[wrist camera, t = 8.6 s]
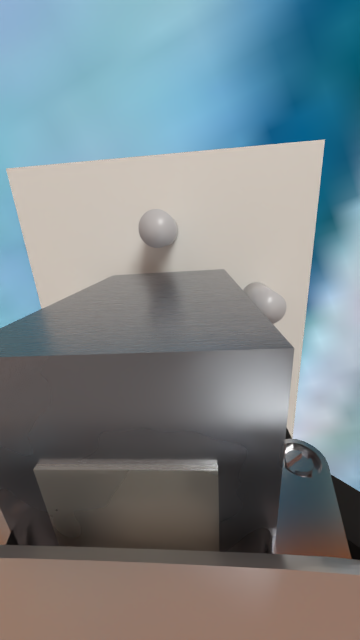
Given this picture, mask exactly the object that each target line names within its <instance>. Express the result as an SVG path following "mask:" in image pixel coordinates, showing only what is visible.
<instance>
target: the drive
mask: <svg viewBox="0 0 360 640" xmlns="http://www.w3.org/2000/svg"><path fill="white" fill-rule="evenodd" d="M293 357H294V347H293V346H292V345H291V344H290V343H289V342H288V341H287V339H286V338H285V337H284V336H283V335H282V334H281V333H280V332H279V330H278V329H277V328H276V327H275V326H274V325H273V324H272V323H271V321H270V320H269V319H268V318H267V317H266V316H265V315H264V314H263V312H262V311H261V310H260V309H259V308H258V307H257V306H256V305H255V303H254V302H253V301H252V300H251V299H250V298H249V297H248V296H247V294H246V293H245V292H244V291H243V290H242V289H241V288H240V287H239V285H238V284H237V283H236V282H235V281H234V280H233V279H232V278H231V276H230V275H229V274H228V273H227V272H226V271H225V270H224V269H217V270H199V271H181V272H163V273H145V274H127V275H113V276H111V277H108V278H106V279H104V280H102V281H100V282H98V283H96V284H94V285H91V286H89V287H87V288H85V289H83V290H81V291H79V292H77V293H75V294H72V295H70V296H68V297H66V298H64V299H62V300H60V301H58V302H55V303H53V304H51V305H49V306H47V307H45V308H43V309H41V310H39V311H36V312H34V313H32V314H30V315H28V316H26V317H24V318H22V319H19V320H17V321H15V322H13V323H11V324H9V325H7V326H5V327H2V328H0V509H1V511H2V513H3V516H4V518H5V520H6V523H7V525H8V527H9V529H12V530H13V533H14V535H15V537H16V540H17V542H18V544H19V545H27V546H66V547H99V548H130V549H161V550H189V551H215V552H241V553H267V554H271V545H272V536H276V529H277V519H278V509H279V499H280V489H281V479H282V468H283V458H284V448H285V438H286V428H287V418H288V408H289V398H290V387H291V377H292V367H293Z"/></svg>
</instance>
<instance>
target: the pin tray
mask: <svg viewBox="0 0 360 640" xmlns="http://www.w3.org/2000/svg"><path fill="white" fill-rule="evenodd" d="M324 143H325V140H315V141H304V142H293V143H282V144H271V145H260V146H249V147H238V148H227V149H216V150H205V151H194V152H184V153H173V154H162V155H151V156H140V157H129V158H118V159H107V160H96V161H85V162H74V163H63V164H52V165H41V166H30V167H19V168H8V169H6V171H7V174H8V178H9V182H10V186H11V190H12V194H13V198H14V202H15V206H16V210H17V214H18V218H19V222H20V225H21V229H22V233H23V237H24V241H25V245H26V249H27V253H28V257H29V261H30V265H31V269H32V273H33V276H34V280H35V284H36V288H37V292H38V296H39V300H40V304H41V308H42V309H43V308H45V307H47V306H49V305H51V304H53V303H55V302H58V301H60V300H62V299H64V298H66V297H68V296H70V295H72V294H75V293H77V292H79V291H81V290H83V289H85V288H87V287H89V286H91V285H94V284H96V283H98V282H100V281H102V280H104V279H106V278H108V277H111V276H113V275H127V274H145V273H163V272H181V271H199V270H217V269H224V270H225V271H226V272H227V273H228V274H229V275H230V276H231V278H232V279H233V280H234V281H235V282H236V283H237V284H238V285H239V287H240V288H241V289H242V290H243V291H244V292H245V293H246V294H247V296H248V297H249V298H250V299H251V300H252V301H253V302H254V303H255V305H256V306H257V307H258V308H259V309H260V310H261V311H262V312H263V314H264V315H265V316H266V317H267V318H268V319H269V320H270V321H271V323H272V324H273V325H274V326H275V327H276V328H277V329H278V330H279V332H280V333H281V334H282V335H283V336H284V337H285V338H286V339H287V341H288V342H289V343H290V344H291V345H292V346H293V347H294V357H293V367H292V377H291V387H290V398H289V408H288V418H287V429H288V431H289V433H290V435H291V437H293V428H294V418H295V409H296V400H297V391H298V382H299V372H300V363H301V354H302V345H303V336H304V327H305V317H306V308H307V299H308V290H309V281H310V271H311V262H312V253H313V244H314V235H315V225H316V216H317V207H318V198H319V189H320V180H321V170H322V161H323V152H324Z"/></svg>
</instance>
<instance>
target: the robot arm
mask: <svg viewBox="0 0 360 640" xmlns="http://www.w3.org/2000/svg"><path fill="white" fill-rule="evenodd" d="M0 640H360V492H359V491H357V490H356V489H354V488H352V487H351V486H349V485H347V484H346V483H344V482H342V481H341V480H339V479H337V478H336V477H334V476H332V475H331V474H330V470H329V466H328V463H327V461H326V459H325V457H324V456H323V455H322V454H321V452H320V451H319V450H317V449H316V448H315V447H313V446H312V445H310V444H308V443H306V442H304V441H300V440H297V439H292V437H291V435H290V433H289V431H288V429H287V428H286V438H285V448H284V458H283V468H282V479H281V489H280V499H279V509H278V519H277V529H276V536H272V545H271V554H267V553H241V552H215V551H189V550H161V549H130V548H99V547H66V546H27V545H19V544H18V542H17V540H16V537H15V535H14V533H13V530H12V529H9V527H8V525H7V523H6V520H5V518H4V516H3V513H2V511H1V509H0Z"/></svg>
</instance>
